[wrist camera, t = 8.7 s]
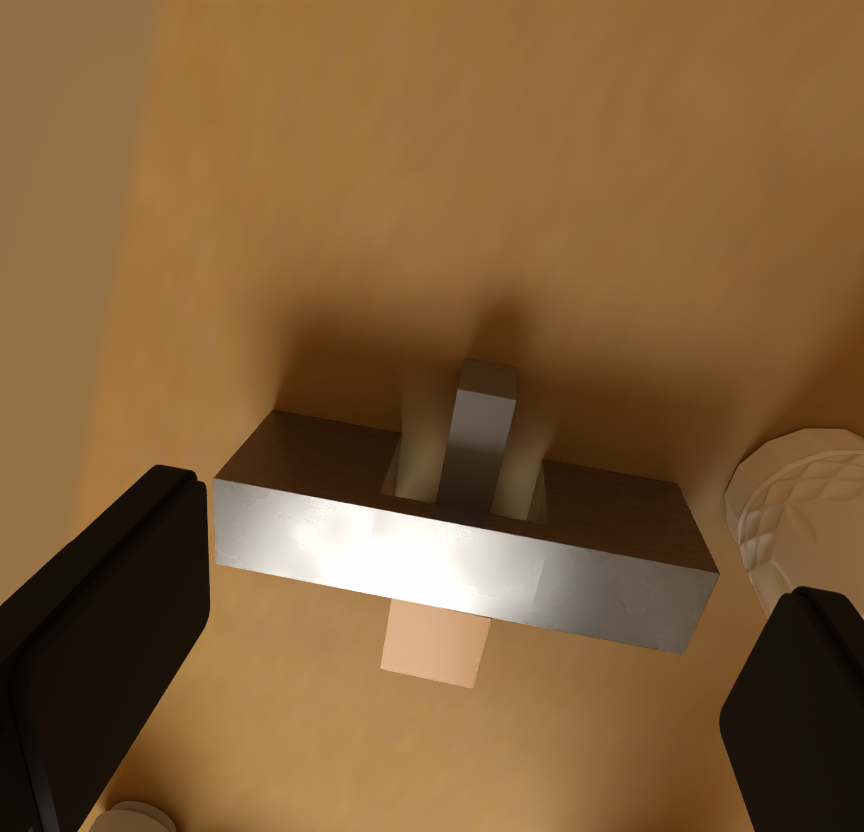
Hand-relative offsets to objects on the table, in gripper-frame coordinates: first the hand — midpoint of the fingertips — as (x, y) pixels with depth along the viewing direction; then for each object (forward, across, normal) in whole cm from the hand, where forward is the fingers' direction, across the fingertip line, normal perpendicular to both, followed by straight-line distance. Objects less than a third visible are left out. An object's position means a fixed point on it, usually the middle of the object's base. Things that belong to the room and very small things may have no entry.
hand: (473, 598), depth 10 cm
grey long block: (+16, 0, +8) cm, 18 cm away
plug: (+16, 0, +9) cm, 19 cm away
